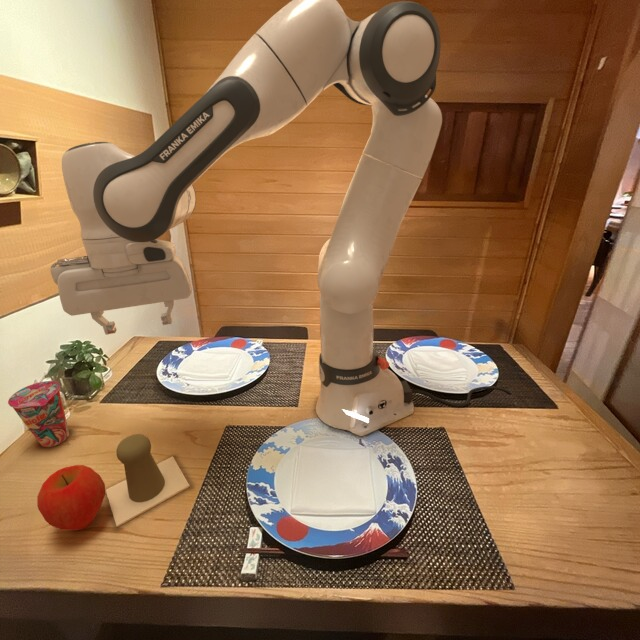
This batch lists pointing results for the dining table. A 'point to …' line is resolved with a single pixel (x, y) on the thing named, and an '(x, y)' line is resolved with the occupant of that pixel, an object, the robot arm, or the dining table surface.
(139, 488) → the pepper shaker
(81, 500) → the apple
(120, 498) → the napkin
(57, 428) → the cup
